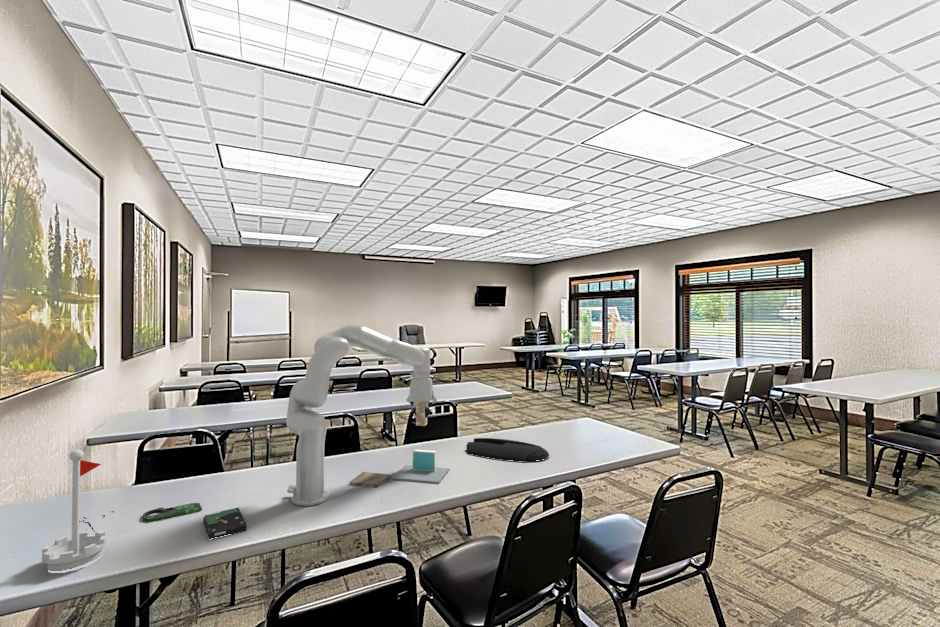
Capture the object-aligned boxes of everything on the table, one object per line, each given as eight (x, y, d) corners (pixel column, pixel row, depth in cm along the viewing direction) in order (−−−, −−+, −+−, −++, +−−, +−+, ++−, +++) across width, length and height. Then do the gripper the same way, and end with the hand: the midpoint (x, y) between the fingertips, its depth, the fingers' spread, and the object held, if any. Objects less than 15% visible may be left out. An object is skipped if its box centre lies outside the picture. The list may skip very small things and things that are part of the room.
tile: (412, 469, 190) (412, 450, 190) (414, 468, 193) (414, 449, 193) (434, 471, 188) (434, 452, 188) (436, 469, 190) (436, 451, 190)
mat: (391, 479, 181) (391, 477, 181) (405, 466, 197) (405, 464, 197) (438, 483, 177) (438, 481, 177) (449, 470, 192) (449, 468, 192)
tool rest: (349, 484, 175) (349, 482, 175) (363, 474, 187) (363, 471, 187) (377, 487, 173) (377, 484, 173) (389, 476, 184) (389, 474, 184)
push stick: (415, 425, 197) (415, 400, 197) (418, 423, 201) (418, 399, 201) (424, 426, 196) (424, 401, 196) (427, 423, 200) (427, 399, 200)
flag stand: (44, 582, 110) (45, 460, 111) (39, 562, 119) (40, 450, 119) (111, 561, 120) (112, 449, 120) (101, 544, 129) (102, 440, 129)
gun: (199, 498, 159) (201, 508, 151) (199, 502, 159) (201, 512, 151) (142, 510, 150) (142, 521, 141) (142, 514, 150) (142, 525, 141)
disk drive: (247, 532, 138) (238, 514, 149) (247, 523, 138) (238, 506, 149) (209, 542, 131) (202, 523, 143) (209, 533, 131) (202, 514, 143)
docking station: (541, 467, 198) (541, 456, 198) (459, 455, 215) (459, 444, 215) (555, 452, 220) (555, 442, 220) (480, 442, 237) (480, 432, 237)
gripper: (400, 376, 197) (401, 417, 197) (437, 377, 193) (437, 419, 193) (406, 373, 204) (406, 414, 204) (442, 374, 201) (442, 415, 201)
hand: (421, 416), depth 199 cm, fingers closed on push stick, 4 cm apart
